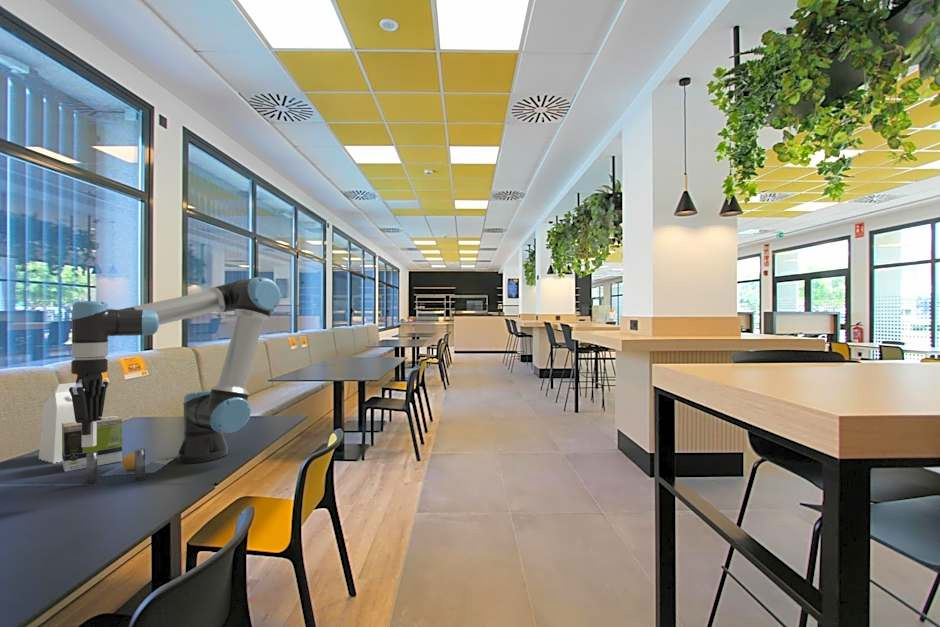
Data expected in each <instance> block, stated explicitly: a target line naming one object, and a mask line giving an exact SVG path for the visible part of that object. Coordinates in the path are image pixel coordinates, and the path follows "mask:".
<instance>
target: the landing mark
mask: <svg viewBox="0 0 940 627" xmlns="http://www.w3.org/2000/svg"><path fill="white" fill-rule="evenodd" d="M154 462H155V461H153V462H150V463H149V464H147V465H146V466H145V474H156V472H158V471H160V470H161V469H163V468H165V467H166V466H167V465H168V464H160V463H154ZM165 465H166V466H165ZM162 467H163V468H162ZM159 469H160V470H159ZM127 474H130V475H135V470H131V471H130V470H126V469H125V468H124V467H123V465H122V463H121V464H119V465H118V466H116V467H114V468H112V469H110V470H108V471H107V472H105V473H103V474H102V475H100V476H101V477H112V476H113V475H116V476H128V475H127ZM113 477H114V476H113Z"/></svg>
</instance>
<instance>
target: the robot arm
mask: <svg viewBox="0 0 940 627" xmlns="http://www.w3.org/2000/svg"><path fill="white" fill-rule="evenodd" d="M281 294H282V293H281V290H280V288H279V286H278V284H277V283H276V282H275V281H274V280H272V279H271V278H267V277H258V276H257V277H253V278H243V279H242V278H241V279H238V280H235V281H231V282H229V283H226V284H225V283H224V284H222V285H221V284H220V285H218V286H213V287H211V288H210V289H209V290H208V291H203V292H198V293H193V294H188V295H183V296H178V297H174V298H169V299H168V298H167V299H164V300H159V301H153V302H149V303H144V304H140V305H135V306H131V307H124V308H120V309H115V308H114V309H113V308H110V307H109V303H108V302H106V301H89V300H88V301H76V302H74V303H73V304H72V312H71V318H70V320H71V347H70V350H71V358H73V359H72V361H71V364H70V365H71V366H70V368H71V370H70V372H71V374H72V375H76V380H75V383H76V385H75V387H70V388H69V392H70V394H71V396H72V402H73V409H74V415H75V421H76V422H77V423H82V447H94V446H96V445H97V421H98V420H101V419H102V417H103V414H104V407H105V400H106V392H107V388H108V386H109V382H108V381H106V380H105V381H104V380H103V379H104V378H103V374H102V373H106V372H108V370H109V368H108V365H109V363H108V361H109V360H108V359H107V358H106V357H108V355H109V349H108V348H109V346H108V345H109V343H108V342H109V337H118V336H119V337H121V336H125V337H126V336H127V337H128V336H129V337H130V336H131V337H132V336H143V337H144V336H152V335H155V334H156V333H157V332H158V330H159V327H160V326H161V325H165V324H169V323H173V322H177V321H181V320H185V319H190V318H193V317H199V316H202V315H206V314H211V313H214V312H216V313H218V314H222V313H226V312H228V313H229V312H234V313H235V314H236V320H235V323H234V327H233V331H232V334H231V337H230V341H229V344H228V348H227V352H226V355H225V359H224V361H223V362H224V363H223V365H222V366H223V367H222V369H221V373H220V377H219V380H218V383H217V384H216V385H215V386H213V387H212V388H211V389H210V390H205V391H204V390H203V391H196V392H188V393H186V394H185V396H184V398H183V403H182V404H183V438H182V441H181V444H180V447H179V450H178V453H177V461H178V462H180V463H185V464H195V463H196V464H197V463H205V462H210V460H211V461H214V460H218V458H219V459H221V458H224V457H225V455H226V454H227V453H228V452H229V451H228V449H229V448H228V444H227V441H226V439H225V437H224V433H225V434H230V433H235V432H238V431H239V430H240V429H242V428H244V426H246V424H247V423H248V421H249V420H250V417H251V413H252V409H251V406H250V404H249V402H248V399H249V396H250V393H249V391H248V390H247V385H248V381H249V378H250V375H251V374H250V373H251V371H252V365H253V363H254V358H255V355H256V350H257V347H258V344H259V339H260V336H261V332H262V328H263V325H264V323H265V322H266V321H267V320H269V319H270V316H271V312H272V310H274V309H275V308H277V307H278V306H279V304H280V303H281V299H282V296H281ZM227 455H228V454H227ZM227 455H226V456H227ZM223 456H224V457H223Z"/></svg>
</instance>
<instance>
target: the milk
mask: <svg viewBox="0 0 940 627" xmlns="http://www.w3.org/2000/svg"><path fill="white" fill-rule="evenodd" d="M75 385H76V382H69V383H58V384H56V387H55V389H54V391H53V393H52V394H51V395H50V396H49V398H47V400H46V401H45V402H44V405H43V406H42V407H43V408H42V418H41V429H40V441H39V452H38V454H39V455H38V460H40V459H41V461H44V460H45V461H44V462H47V461H48V463H50V462H52V463H51V464H57V463H56V462H58V463H62V462H61V461H62V423H64V422H72V421H75V415H74V409H73V402H72V396H71V394H70V392H69V388H70V387H75Z"/></svg>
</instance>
